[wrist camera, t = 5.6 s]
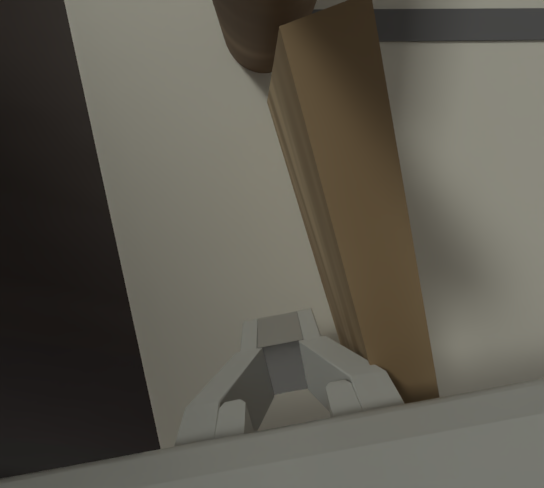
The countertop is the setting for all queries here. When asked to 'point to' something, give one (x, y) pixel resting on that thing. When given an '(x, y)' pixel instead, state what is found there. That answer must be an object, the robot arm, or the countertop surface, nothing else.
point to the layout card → (282, 201)
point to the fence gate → (352, 188)
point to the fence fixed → (257, 28)
